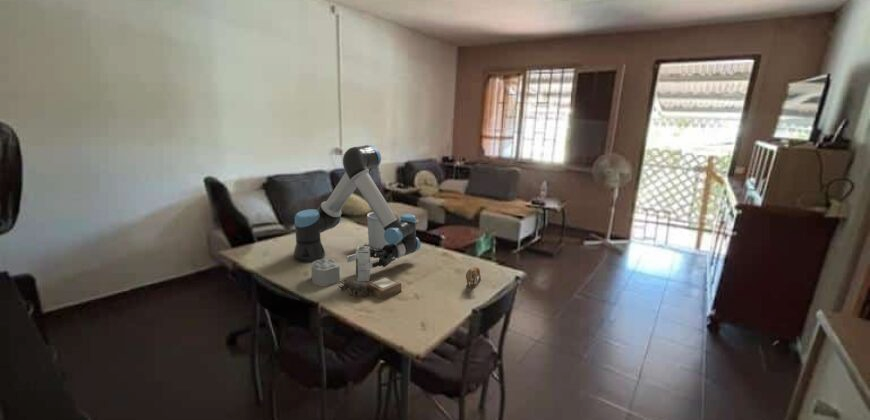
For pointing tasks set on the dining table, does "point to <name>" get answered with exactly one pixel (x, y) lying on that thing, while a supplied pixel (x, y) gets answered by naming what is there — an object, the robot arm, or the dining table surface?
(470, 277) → the lion figurine
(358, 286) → the rhino figurine
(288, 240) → the dining table surface
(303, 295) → the dining table surface
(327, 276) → the lumpy-topped squat cylinder
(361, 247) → the syrup box
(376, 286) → the walnut plinth
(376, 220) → the utensil holder
